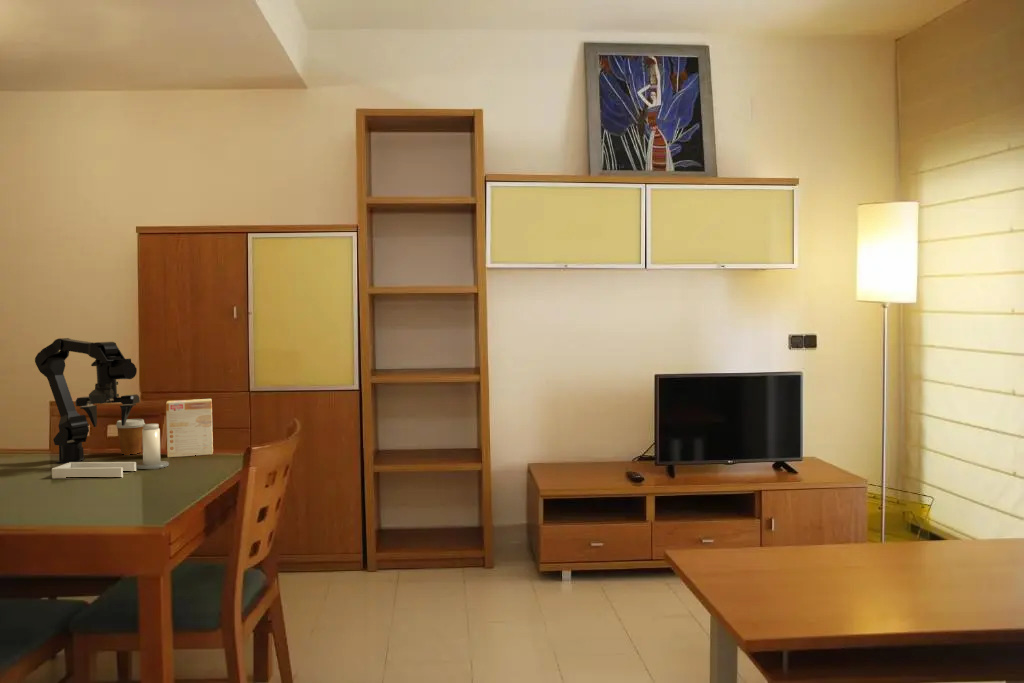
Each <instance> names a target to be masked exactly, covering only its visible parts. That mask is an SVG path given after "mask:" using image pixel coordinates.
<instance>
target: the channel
mask: <svg viewBox="0 0 1024 683" xmlns="http://www.w3.org/2000/svg"><path fill="white" fill-rule="evenodd" d="M136 464H137V462H136V461H91V462H90V461H89V462H88V461H86V462H85V461H79V462H69V463H62V465H58V466H55V467H52V468H51V479H67V478H66V477H122V478H124V472H123V471H136V472H137V469H136Z"/></svg>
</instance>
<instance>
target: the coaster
mask: <svg viewBox="0 0 1024 683" xmlns="http://www.w3.org/2000/svg"><path fill="white" fill-rule="evenodd" d="M167 466H168V467H169V461H166V460H165V461H164V460H160V464H157V465H143V461H142V462H138V463H136V470H138V469H154V470H159V468H161V469H165V468H168V467H167ZM164 467H165V468H164Z"/></svg>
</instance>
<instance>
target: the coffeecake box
mask: <svg viewBox="0 0 1024 683" xmlns="http://www.w3.org/2000/svg"><path fill="white" fill-rule="evenodd" d="M212 400H213V399H212V398H202V399H200V398H198V399H197V398H195V399H175V400H167V401H166V404H165V405H166V406H165V408H166V409H165V410H166V411H165V412H166V415H165V416H166V418H165V419H166V443H167V445H166V446H167V447H166V449H167V450H166V451H167V456H166V457H167V458H178V457H179V458H180V457H193V456H195V455H196V456H208V455H210V456H211V455H213V454H214V453H213V452H214V446H213V444H214V441H213V440H214V438H213V437H214V436H213V403H212Z"/></svg>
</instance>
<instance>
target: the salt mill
mask: <svg viewBox="0 0 1024 683" xmlns="http://www.w3.org/2000/svg"><path fill="white" fill-rule="evenodd" d="M159 426H160V425H159V423H145V424H144V425H143V429H142V434H143V438H142V462H143V465H157V464H160V461H161V429H160V428H159Z"/></svg>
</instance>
